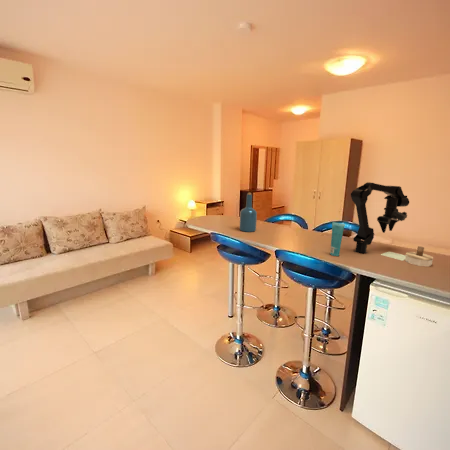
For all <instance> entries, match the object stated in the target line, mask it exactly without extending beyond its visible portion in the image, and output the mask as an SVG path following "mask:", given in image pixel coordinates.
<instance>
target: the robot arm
mask: <svg viewBox="0 0 450 450" xmlns="http://www.w3.org/2000/svg"><path fill="white" fill-rule="evenodd" d="M373 191H376V192H382V193H384V194H385V195H387V196H384V197H383V198H384V199H385V200H386V203H385V207H384V208H383V210H384V214H382V215H379V216H378V217H377V218H376V221H377V222H378V224H379V227H380V228H381V232H382V233H385V232H386V230H387V227H388V230H389V231H390V232H391V231H393V229H394V227H395V225H396V223H398V222H403V221H405V220H406V219H407V218H408V213H407V212H405V211H403V212H401V211H399V207H401V208H403V207H405V208H406V207H408V206H409V205H410V199H409V198H408V195H405V194H404V191H403V189H402V187H401V186H400V185H399V186H398V185H384V184H381V183H380V184H379V183H376V182H369V181H367V182H364V184H363V185H362V184H361V185H360V186H359V187H357V188H355V189H353V190H352V192H350V198H351V200H352V203H354V205H355V207H356V208H355V209H356V212H357V213H356V214H357V219H358V226H359V227H358V229H357V234H356V235H355V236H354V237H352V238H353V239H352V240H353V242H355V243H356V244H355V250H353V251H352V252H354V253H357V254H360V255H365V254H369V252H368V251H367V247H368V246H370V245H371V244H372V242H373V240H374V238H375V232H374V231H375V230H374V228H373V227H370V225H369V219H368V218H369V217H368V214H367V213H368V212H367V206H366V204H367V202H368V197H369V196H371V194H372V192H373Z"/></svg>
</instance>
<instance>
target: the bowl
mask: <svg viewBox="0 0 450 450" xmlns="http://www.w3.org/2000/svg"><path fill="white" fill-rule="evenodd" d="M405 255H406V254H405ZM433 260H434V259H433ZM433 260H429V261H427V260H419V259H414V258H411V257H408V256H407V255H406V257H405V260H404V261H405V262H406V263H407V264H411V265H414V266H418V267H426V268H427V267H431V266H432V265H433Z"/></svg>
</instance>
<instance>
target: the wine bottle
mask: <svg viewBox="0 0 450 450" xmlns="http://www.w3.org/2000/svg"><path fill="white" fill-rule="evenodd" d="M245 199H246V204H245V207H244V208H242V209H241V210H240V212H239V230H240V232H241V231H242V232H246V233H250V232H251V233H252V232H255V231H256V230H257V222H258V221H257V220H258V218H257V217H258V212H257V210H256V209H254V208H253V207H252V205H253V203H252V201H253V194H252V192H247V194H246V198H245Z"/></svg>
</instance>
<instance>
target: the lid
mask: <svg viewBox="0 0 450 450" xmlns="http://www.w3.org/2000/svg"><path fill="white" fill-rule="evenodd" d="M424 251H425V247H423V246H417V249H416V252H415V251H407V252H406V253H405V255H407V256H408V257H411V258H414V259H419V260H427V261H429V260H434V256H432V255H430V254H427V253H424Z"/></svg>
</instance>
